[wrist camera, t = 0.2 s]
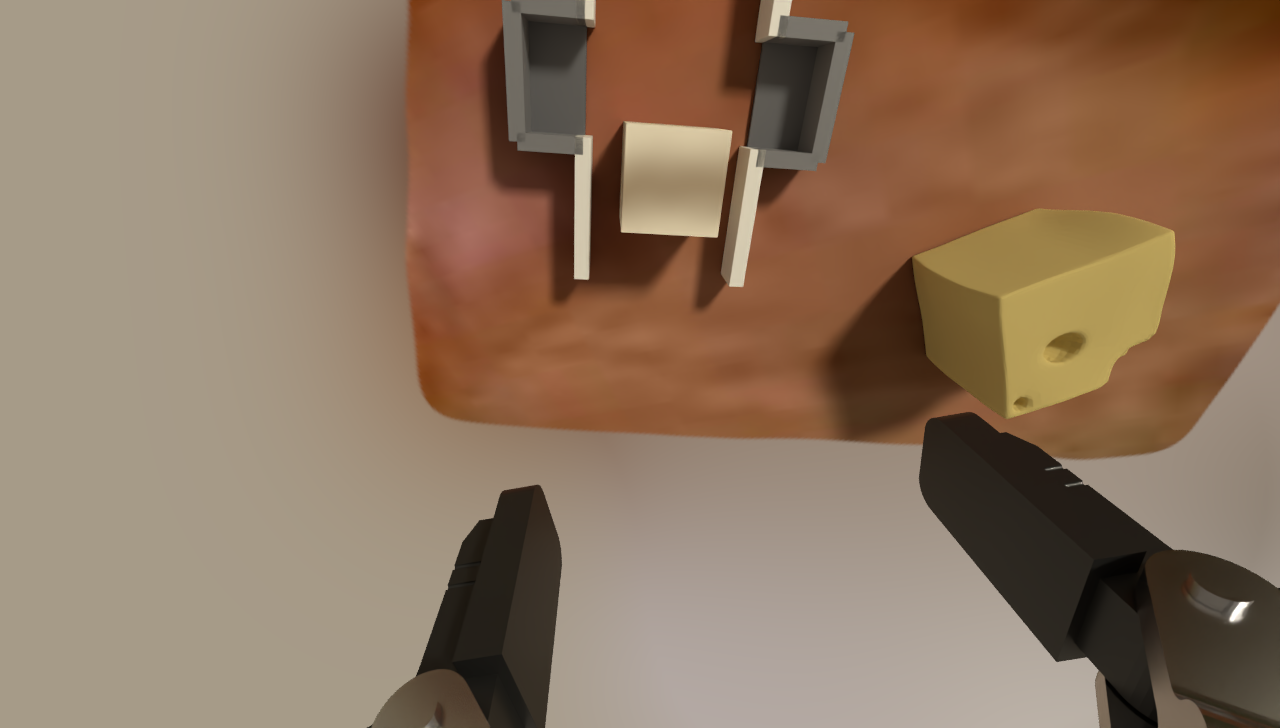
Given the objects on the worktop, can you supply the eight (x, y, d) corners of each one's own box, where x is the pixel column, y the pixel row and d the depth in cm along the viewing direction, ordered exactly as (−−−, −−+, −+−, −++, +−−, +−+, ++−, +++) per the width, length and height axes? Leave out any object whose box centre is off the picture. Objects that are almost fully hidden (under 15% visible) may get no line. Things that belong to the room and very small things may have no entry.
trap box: (500, -245, 24) (482, -306, 21) (881, -195, 26) (925, -242, 23) (522, 264, 36) (513, 280, 33) (783, 277, 38) (801, 294, 34)
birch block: (623, 121, 32) (626, 122, 27) (712, 127, 33) (732, 130, 28) (619, 214, 35) (621, 232, 30) (701, 218, 36) (717, 237, 30)
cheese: (1045, 316, 41) (1165, 373, 32) (917, 362, 42) (999, 429, 34) (1044, 197, 36) (1185, 224, 28) (901, 252, 38) (991, 296, 29)
